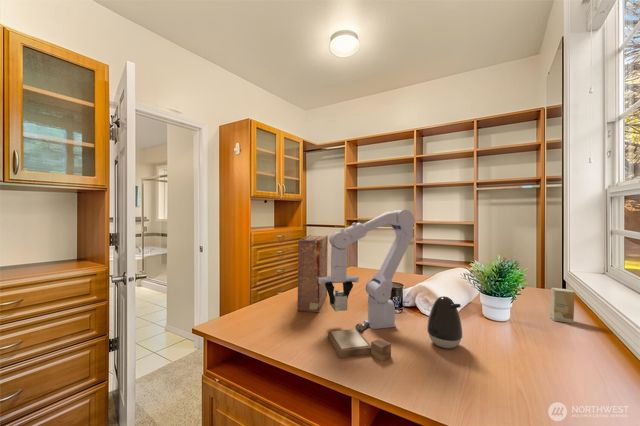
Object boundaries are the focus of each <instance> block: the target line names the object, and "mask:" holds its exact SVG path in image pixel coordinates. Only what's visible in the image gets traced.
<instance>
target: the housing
mask: <svg viewBox="0 0 640 426" xmlns="http://www.w3.org/2000/svg"><path fill="white" fill-rule="evenodd" d="M333 299H334V302H333V304H331V303H330V302H329V306H330V307H331V308H332V309H333V310H334V312H341V311H343V312H344V311H348V300H347V295H346V294H345V293H344V292H343V290H341V289H334V294H333Z"/></svg>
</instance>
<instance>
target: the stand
mask: <svg viewBox="0 0 640 426" xmlns="http://www.w3.org/2000/svg"><path fill="white" fill-rule="evenodd" d="M327 338H328V341H329V342H330V344H331V345H332V347H333V348H334V351H335V352H336V354H337V356H338V358H339V359H344V358H350V357H360V356H368V355H371V343H369V342H368V341H367V339H366V338H365V337H364V336H363V335H362V334H361V332H359V331H358V330H357V329H356V328H352V329H351V328H350V329H342V330H332V331H330V330H329V331H327Z"/></svg>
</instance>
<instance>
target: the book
mask: <svg viewBox="0 0 640 426" xmlns="http://www.w3.org/2000/svg"><path fill="white" fill-rule="evenodd" d="M328 237H329V236H328V235H325V236H324V235H323V236H320V235H319V236H318V235H311V234H308V235H306V236H304V237H302V238H300V239H298V241H297V242H298V247H297V248H298V249H297V250H298V251H297V252H298V253H297V255H298V256H297V312H306V313H320V312H321V310H322V307H323V305H324V302H325V300H326V298H327V296H328V291H327V289H326V286H325V284H319V278H322V277H328V252H329V251H328V245H329V243H328V242H329V239H328Z"/></svg>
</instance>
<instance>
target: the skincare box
mask: <svg viewBox="0 0 640 426" xmlns="http://www.w3.org/2000/svg"><path fill="white" fill-rule="evenodd" d="M575 295H576V293H575V291H573V290H572V289H567V288H560V287H550V301H549V303H550V305H549V318H550V319H551V320H553V321H554V322H562V323H568V324H574V321H575V319H574V314H575Z"/></svg>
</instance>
